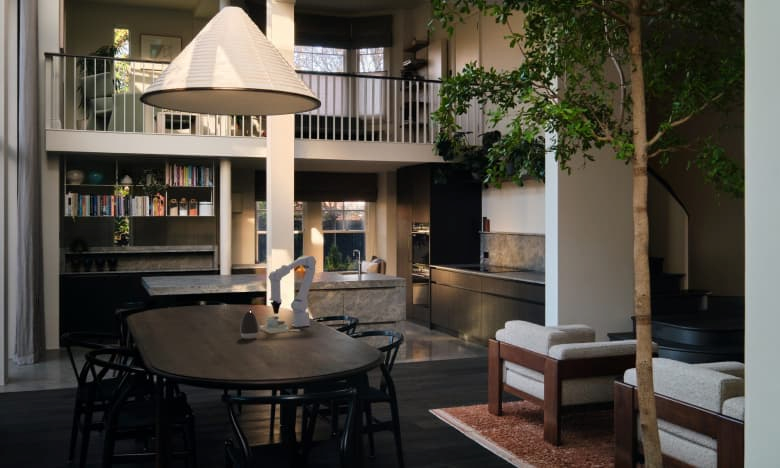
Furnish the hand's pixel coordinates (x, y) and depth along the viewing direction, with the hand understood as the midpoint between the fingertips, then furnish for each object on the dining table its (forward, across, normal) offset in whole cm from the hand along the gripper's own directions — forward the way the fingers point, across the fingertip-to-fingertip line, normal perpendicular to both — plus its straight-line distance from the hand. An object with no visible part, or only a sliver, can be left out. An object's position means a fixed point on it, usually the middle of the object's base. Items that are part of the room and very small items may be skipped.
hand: (276, 313), depth 427 cm
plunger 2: (+7, +9, 0) cm, 11 cm away
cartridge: (+7, +3, -5) cm, 9 cm away
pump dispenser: (+10, +23, -24) cm, 35 cm away
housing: (+9, +4, -3) cm, 10 cm away
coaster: (+9, +13, +7) cm, 18 cm away
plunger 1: (+5, -2, 0) cm, 6 cm away
